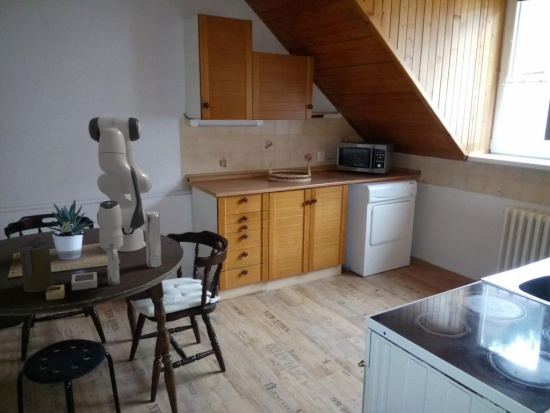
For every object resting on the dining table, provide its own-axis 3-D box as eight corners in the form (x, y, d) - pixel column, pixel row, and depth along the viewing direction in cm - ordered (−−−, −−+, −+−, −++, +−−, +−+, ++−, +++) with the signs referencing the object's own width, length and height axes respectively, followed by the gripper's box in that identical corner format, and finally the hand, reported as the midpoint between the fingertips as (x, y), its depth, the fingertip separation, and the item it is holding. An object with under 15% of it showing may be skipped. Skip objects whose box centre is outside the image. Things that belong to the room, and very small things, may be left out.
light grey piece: (157, 268, 191) (155, 214, 186) (144, 266, 193) (141, 213, 187) (163, 263, 198) (162, 211, 192) (150, 261, 199) (149, 210, 193)
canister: (31, 281, 173) (26, 234, 169) (57, 281, 174) (53, 235, 170) (17, 293, 163) (11, 243, 158) (45, 292, 164) (41, 243, 159)
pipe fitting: (107, 281, 176) (106, 265, 174) (119, 279, 178) (118, 264, 176) (108, 285, 172) (106, 269, 170) (120, 284, 174) (119, 268, 172)
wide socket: (72, 281, 175) (72, 274, 174) (97, 278, 178) (96, 271, 177) (72, 290, 166) (71, 283, 166) (97, 287, 170) (96, 280, 169)
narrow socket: (47, 293, 163) (47, 286, 162) (65, 291, 165) (64, 284, 164) (46, 300, 157) (45, 292, 157) (64, 298, 160) (63, 290, 159)
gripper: (121, 248, 162) (123, 282, 165) (118, 233, 181) (119, 264, 184) (103, 250, 160) (105, 284, 163) (102, 235, 178) (104, 266, 181)
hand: (113, 273), depth 174 cm, fingers open, 8 cm apart
